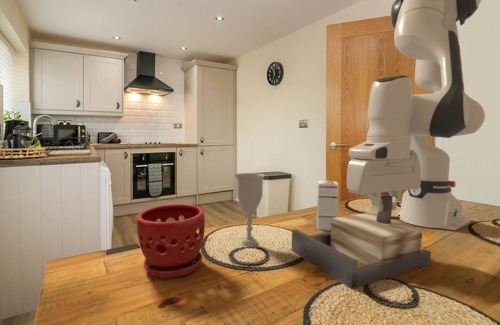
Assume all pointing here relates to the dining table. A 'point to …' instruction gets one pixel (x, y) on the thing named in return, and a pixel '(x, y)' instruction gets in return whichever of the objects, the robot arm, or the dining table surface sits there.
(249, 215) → the chalice
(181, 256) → the plant pot
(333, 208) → the syrup box
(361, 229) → the beige knobbed block
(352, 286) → the bay
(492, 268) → the dining table surface
